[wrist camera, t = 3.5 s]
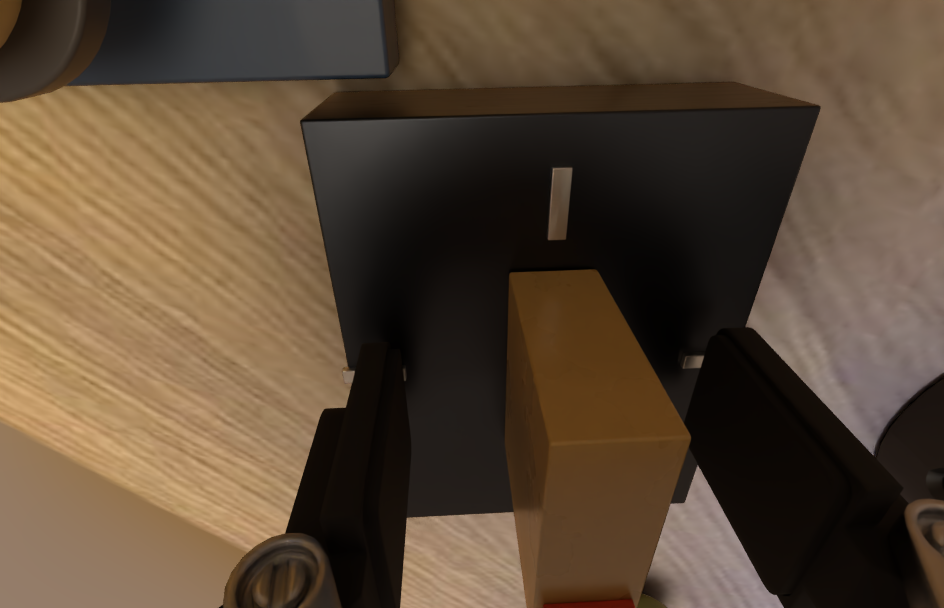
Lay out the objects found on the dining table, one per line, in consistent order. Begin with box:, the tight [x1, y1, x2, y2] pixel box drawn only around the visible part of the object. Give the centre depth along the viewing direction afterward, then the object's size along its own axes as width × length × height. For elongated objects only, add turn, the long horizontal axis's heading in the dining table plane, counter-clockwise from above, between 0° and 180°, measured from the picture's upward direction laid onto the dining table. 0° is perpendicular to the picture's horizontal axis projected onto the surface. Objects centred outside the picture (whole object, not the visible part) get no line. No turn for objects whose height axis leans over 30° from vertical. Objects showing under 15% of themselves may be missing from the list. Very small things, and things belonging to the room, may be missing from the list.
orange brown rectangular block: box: [505, 269, 691, 608], centre depth 9 cm, size 5×2×5 cm, turn 1°
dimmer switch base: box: [300, 82, 821, 518], centre depth 12 cm, size 11×9×3 cm
